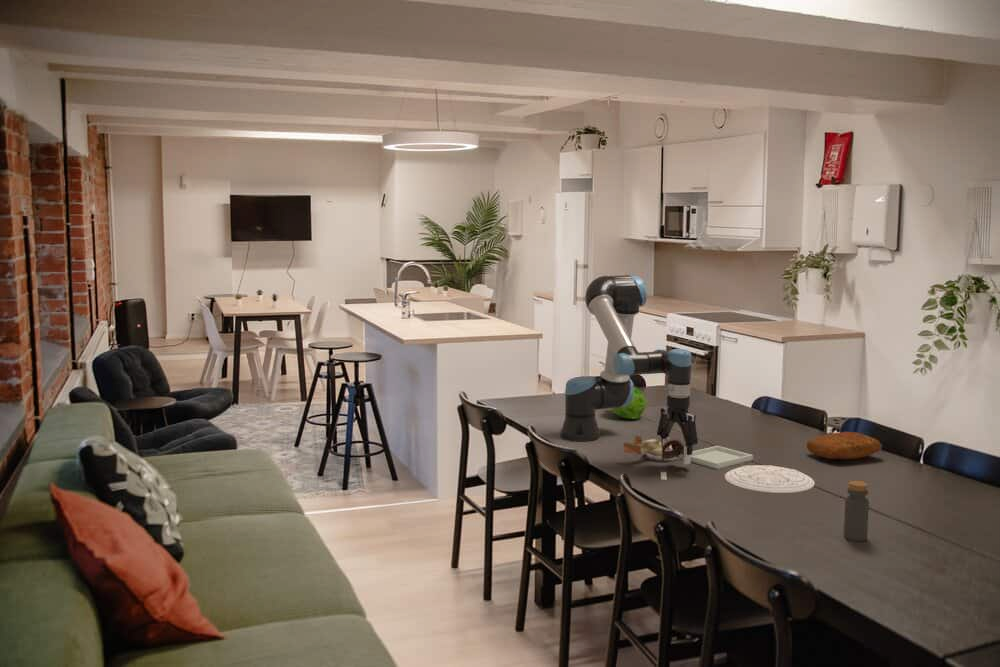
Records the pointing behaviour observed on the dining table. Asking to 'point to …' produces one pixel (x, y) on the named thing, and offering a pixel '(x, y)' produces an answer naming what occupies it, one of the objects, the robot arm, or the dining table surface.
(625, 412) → the lettuce
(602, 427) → the dining table surface
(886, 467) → the dining table surface
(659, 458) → the crank housing
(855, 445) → the bread loaf
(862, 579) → the dining table surface
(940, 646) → the dining table surface
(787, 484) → the ceiling medallion
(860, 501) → the bottle
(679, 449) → the pottery mug
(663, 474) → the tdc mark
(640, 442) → the crank
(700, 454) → the tray
